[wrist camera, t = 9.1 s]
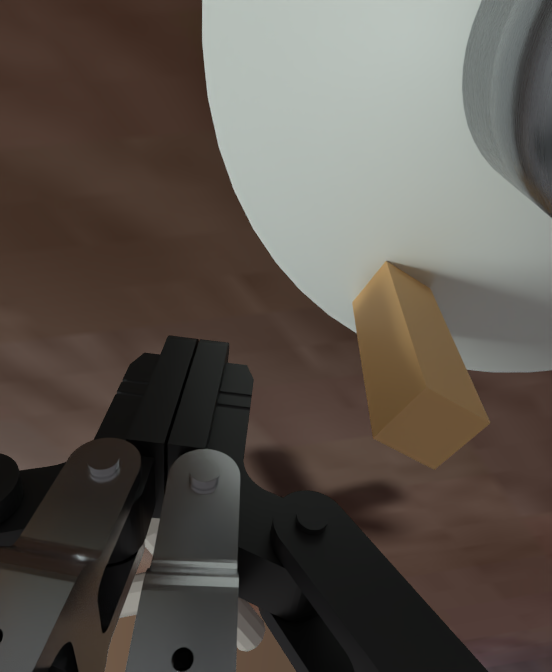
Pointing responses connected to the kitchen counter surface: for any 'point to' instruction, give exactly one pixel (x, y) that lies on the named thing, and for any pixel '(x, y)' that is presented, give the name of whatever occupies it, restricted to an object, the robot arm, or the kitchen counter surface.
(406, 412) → the platter
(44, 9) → the kitchen counter surface
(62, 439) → the kitchen counter surface
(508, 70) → the cover
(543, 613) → the kitchen counter surface
